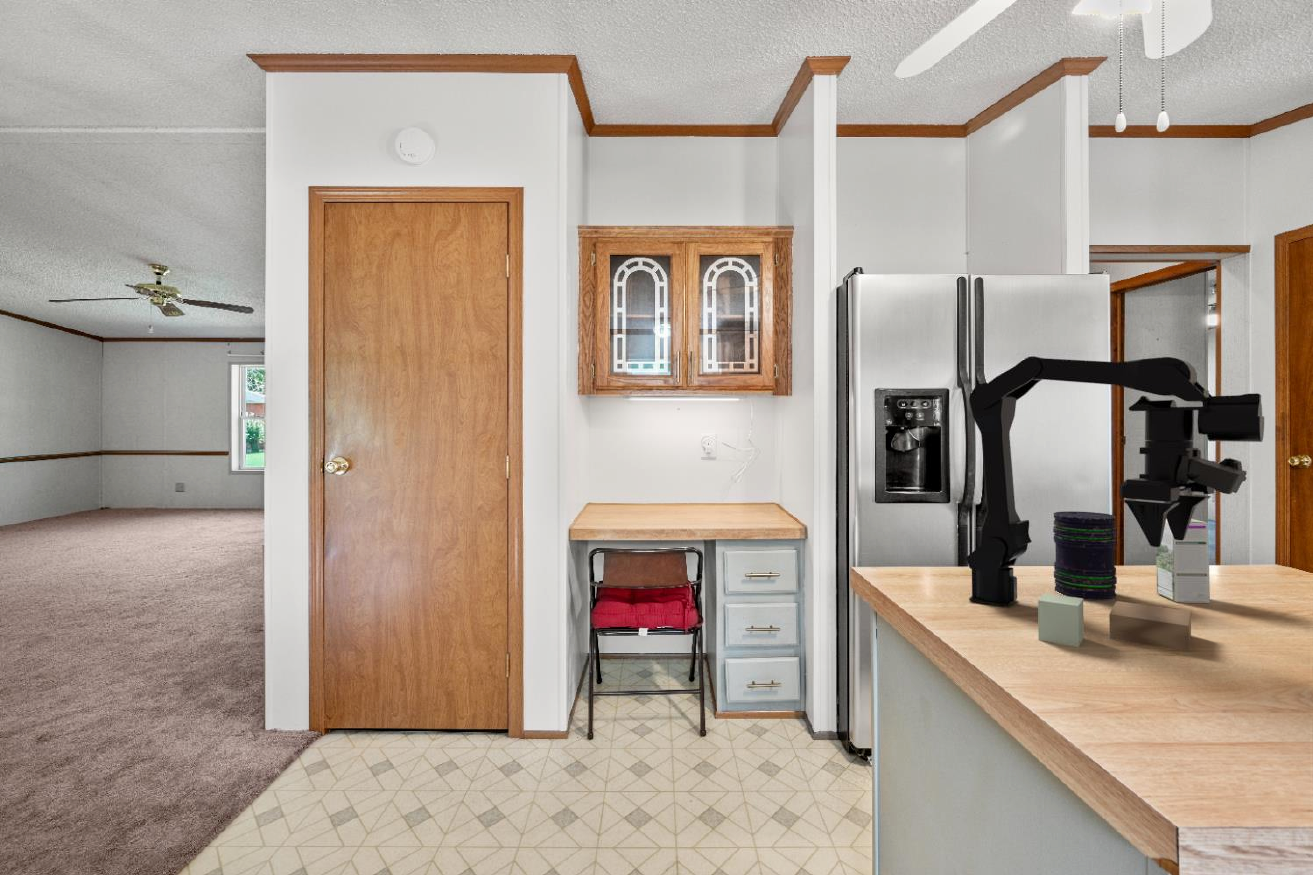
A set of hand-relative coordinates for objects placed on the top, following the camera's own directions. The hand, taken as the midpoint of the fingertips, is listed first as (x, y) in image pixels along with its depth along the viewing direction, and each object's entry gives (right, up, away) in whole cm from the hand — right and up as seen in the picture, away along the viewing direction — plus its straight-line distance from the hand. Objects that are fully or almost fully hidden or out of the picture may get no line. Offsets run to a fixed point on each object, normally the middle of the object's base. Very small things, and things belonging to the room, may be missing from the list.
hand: (1167, 543), depth 95 cm
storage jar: (+3, -14, +23) cm, 27 cm away
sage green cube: (-17, -14, -2) cm, 22 cm away
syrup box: (+18, -13, +18) cm, 29 cm away
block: (-4, -14, -1) cm, 15 cm away
